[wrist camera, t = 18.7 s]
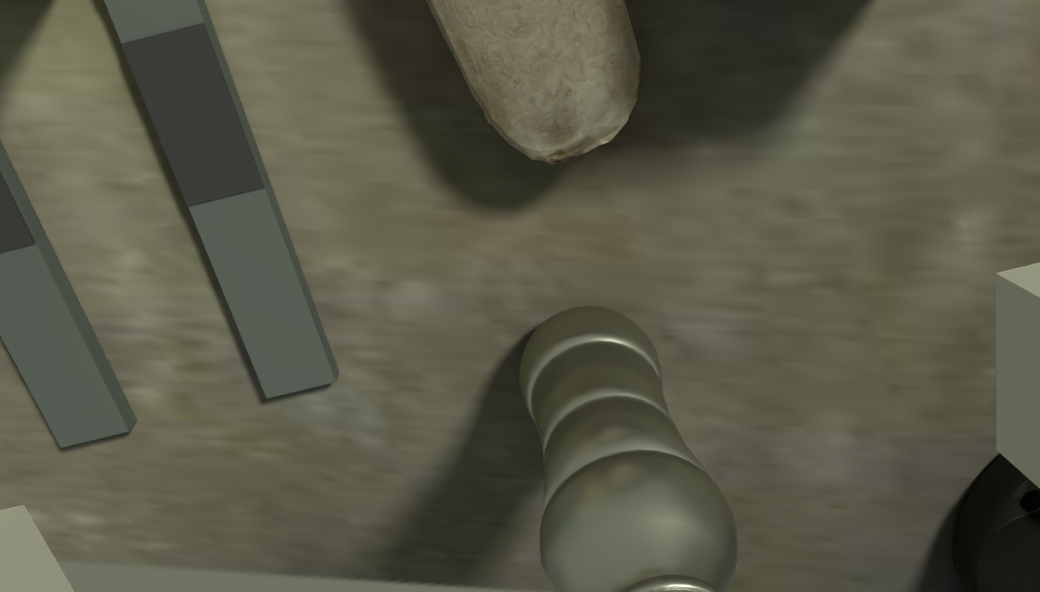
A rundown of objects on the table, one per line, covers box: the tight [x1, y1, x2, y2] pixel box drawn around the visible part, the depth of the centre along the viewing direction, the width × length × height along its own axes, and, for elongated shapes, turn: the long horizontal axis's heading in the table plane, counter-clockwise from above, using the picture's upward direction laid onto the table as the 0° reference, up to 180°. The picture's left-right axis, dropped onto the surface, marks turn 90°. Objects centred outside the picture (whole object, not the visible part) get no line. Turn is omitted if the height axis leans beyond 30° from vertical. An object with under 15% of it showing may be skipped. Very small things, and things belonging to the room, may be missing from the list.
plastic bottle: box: [519, 306, 737, 592], centre depth 31 cm, size 6×7×20 cm
